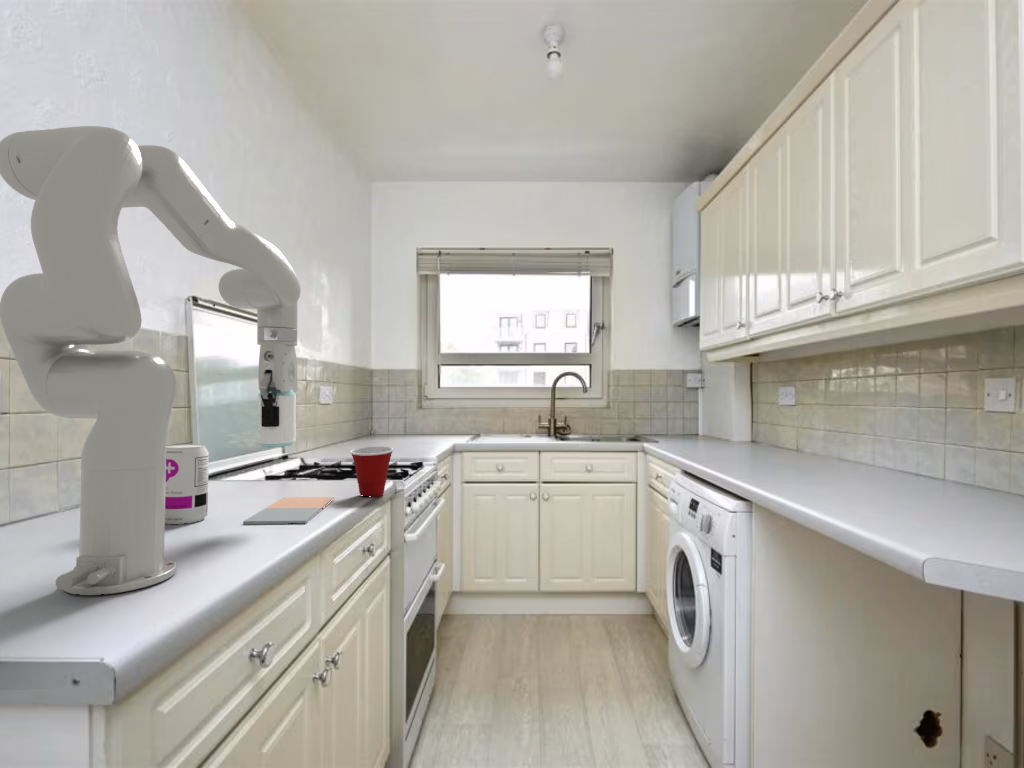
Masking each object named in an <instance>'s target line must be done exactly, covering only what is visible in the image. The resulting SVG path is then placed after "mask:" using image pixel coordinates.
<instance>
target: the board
mask: <svg viewBox="0 0 1024 768" xmlns="http://www.w3.org/2000/svg"><path fill="white" fill-rule="evenodd" d="M332 499H334V500H335V496H327V497H326V496H325V497H322V496H317V497H314V496H312V497H311V496H310V497H306V496H305V497H282V498H281V499H278V500H277V501H275V502H273V503H272V504H270V505H268V506H267V507H265V508H263V509H261V510H260V511H258V512H257V513H255V514H254V515H252V516H250V517H248V518H247V519H245V520H243V521H242V522H243V523H242V524H243V525H289V524H290V523H306V524H308V523H309V522H310V521H311V520H312V519H313V518H315V517H316V516H317V515H318V514H319V513H320V512H321V511H320V510H321V509H322V508H323V507H324V506H326V505H327V504H328V503H329V502H330V501H331V500H332ZM327 506H328V505H327ZM327 506H326V507H327ZM319 511H320V512H319ZM318 512H319V513H318ZM317 513H318V514H317ZM316 514H317V515H316ZM315 515H316V516H315ZM314 516H315V517H314ZM312 517H313V518H312ZM311 518H312V519H311ZM310 519H311V520H310ZM309 520H310V521H309ZM308 521H309V522H308ZM307 522H308V523H307ZM288 523H289V524H288ZM290 525H291V524H290Z"/></svg>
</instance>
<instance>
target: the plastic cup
mask: <svg viewBox="0 0 1024 768" xmlns="http://www.w3.org/2000/svg"><path fill="white" fill-rule="evenodd" d="M393 452H394V448H393V447H390V446H378V445H376V446H366V447H365V446H364V447H358V448H353V449H351V450H349V453H350V454H351V456H352V460H353V463H354V467H355V475H356V479H357V486H358V492H359V496H360V495H363V496H372V497H371V498H378V497H382V496H384V492H385V487H386V482H387V479H388V473H389V467H390V462H391V458H392V453H393Z"/></svg>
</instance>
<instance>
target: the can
mask: <svg viewBox="0 0 1024 768" xmlns="http://www.w3.org/2000/svg"><path fill="white" fill-rule="evenodd" d="M290 388H291V390H290V391H289V392H287V393H281V391H280V392H279V398H278V404H277V406H279V426H278V427H262V406H261V400H262V399H261V392H260V391H259V393H258V395H257V396H258V397H257V399H258V401H257V408H258V409H257V443H258V444H259V445H261V446H262V447H264V448H265V447H266V448H277V447H279V448H280V447H288V446H292V445H293V444H294V443H296V437H297V433H296V432H297V431H296V429H297V427H296V426H297V425H296V421H297V419H296V417H297V415H296V413H297V406H296V405H297V403H296V402H297V397H296V395H297V394H296V392H294V391H293V390H292V388H293V387H290ZM269 391H276V390H275V389H270V390H269ZM272 396H273V399H274V395H272Z"/></svg>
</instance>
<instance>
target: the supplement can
mask: <svg viewBox="0 0 1024 768" xmlns="http://www.w3.org/2000/svg"><path fill="white" fill-rule="evenodd" d="M209 454H210V453H209V450H208V449H207V448H206V445H205V444H198V443H197V444H192V443H191V444H174V445H173V444H172V445H167V446H166V490H165V525H170V524H178V525H185V524H184V523H188V524H194V523H198V522H201V521H203V520H204V519H205V518H206V517H207V516H208V502H209V464H210V463H209V462H210V455H209ZM197 521H198V522H197ZM193 522H194V523H193Z"/></svg>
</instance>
